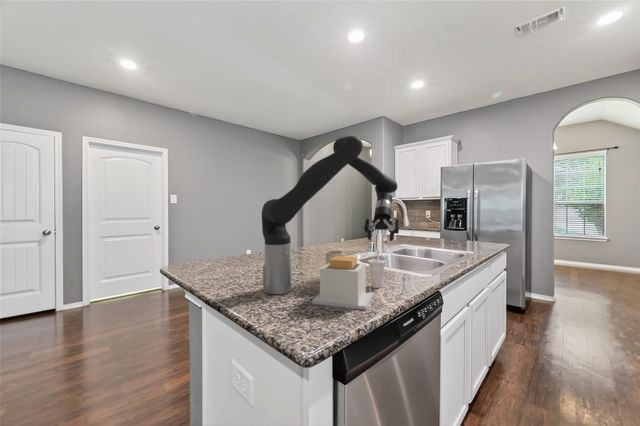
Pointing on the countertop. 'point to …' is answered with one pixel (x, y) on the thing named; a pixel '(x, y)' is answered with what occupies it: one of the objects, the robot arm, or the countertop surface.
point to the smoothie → (376, 271)
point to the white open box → (343, 288)
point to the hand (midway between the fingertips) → (380, 239)
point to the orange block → (343, 262)
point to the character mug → (333, 255)
